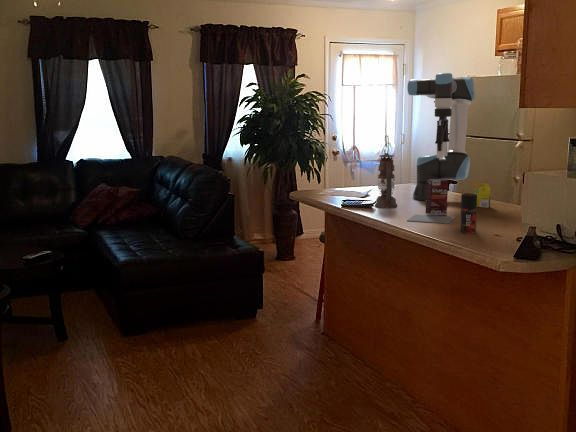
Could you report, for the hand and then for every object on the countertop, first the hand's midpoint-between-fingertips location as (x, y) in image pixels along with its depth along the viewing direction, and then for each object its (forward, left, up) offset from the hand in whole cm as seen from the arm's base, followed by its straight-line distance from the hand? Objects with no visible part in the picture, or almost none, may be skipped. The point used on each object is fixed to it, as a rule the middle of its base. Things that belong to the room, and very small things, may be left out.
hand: (442, 157), depth 288 cm
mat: (+21, 0, -26) cm, 33 cm away
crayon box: (-19, +16, -26) cm, 36 cm away
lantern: (-6, -28, -26) cm, 39 cm away
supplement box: (+10, 0, -26) cm, 27 cm away
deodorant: (+42, +19, -26) cm, 53 cm away
